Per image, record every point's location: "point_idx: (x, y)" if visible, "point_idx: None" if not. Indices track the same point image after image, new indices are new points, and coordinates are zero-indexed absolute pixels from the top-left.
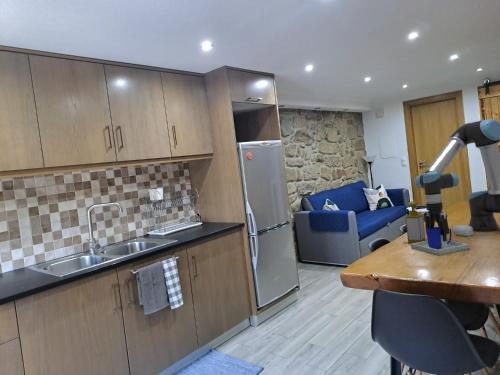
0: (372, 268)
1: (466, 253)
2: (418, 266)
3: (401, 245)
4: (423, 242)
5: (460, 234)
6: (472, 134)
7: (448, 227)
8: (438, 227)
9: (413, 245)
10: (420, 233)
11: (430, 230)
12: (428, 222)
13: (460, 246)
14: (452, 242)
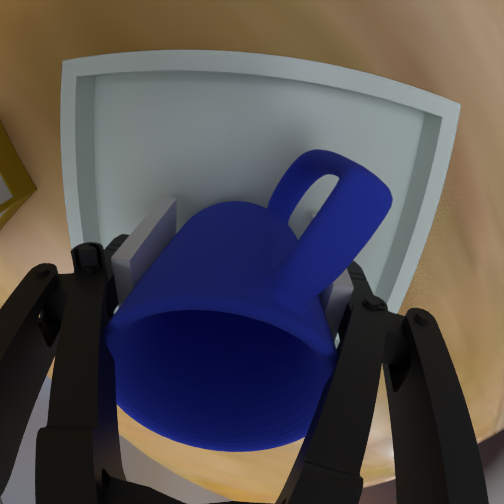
0: (274, 489)
1: (473, 215)
2: (376, 444)
3: (16, 286)
4: None
5: None
6: None
7: (454, 374)
8: (175, 308)
9: None
10: None
11: (256, 447)
12: (21, 391)
13: (438, 191)
14: (270, 77)
